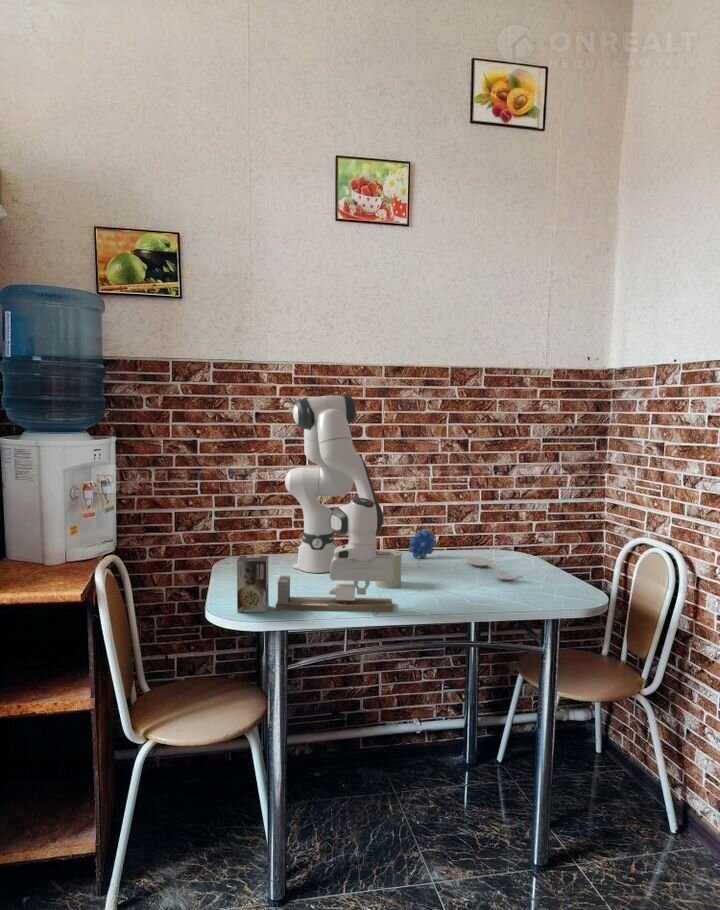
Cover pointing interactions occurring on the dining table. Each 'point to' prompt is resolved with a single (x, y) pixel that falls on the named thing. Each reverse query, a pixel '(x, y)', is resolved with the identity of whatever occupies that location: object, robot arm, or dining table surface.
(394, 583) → the can
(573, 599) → the dining table surface
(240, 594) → the coffee box
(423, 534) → the grapes
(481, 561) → the spoon
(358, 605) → the gauge base
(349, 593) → the block
